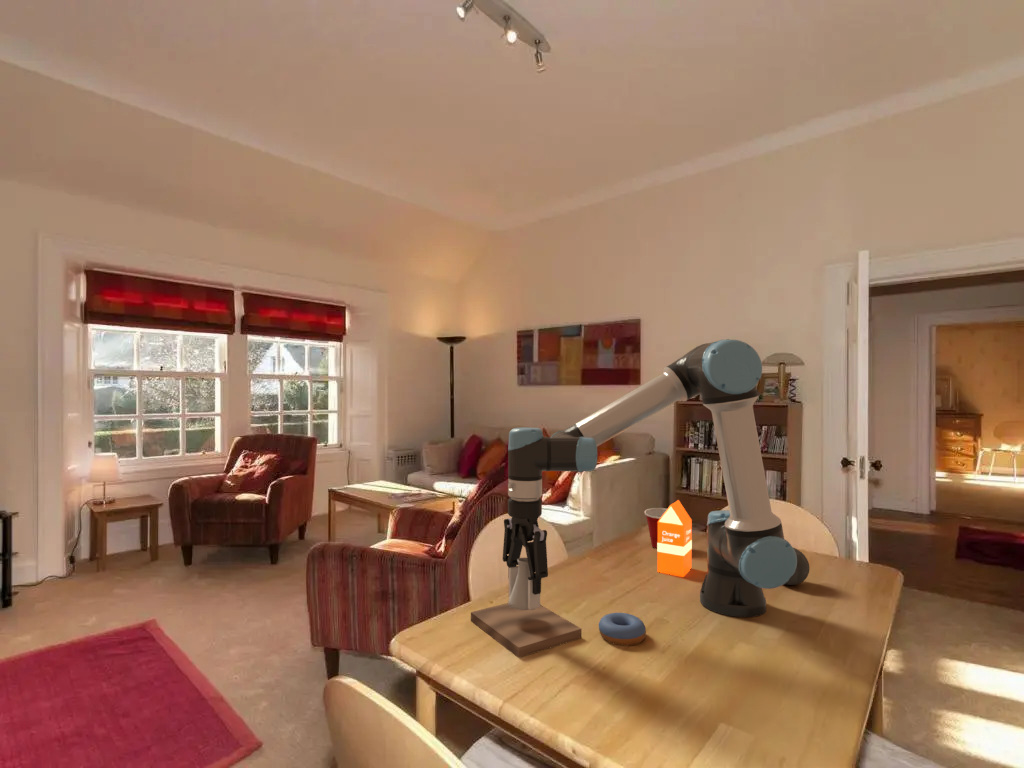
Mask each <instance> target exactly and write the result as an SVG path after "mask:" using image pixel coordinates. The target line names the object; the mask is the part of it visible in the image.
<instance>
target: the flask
mask: <svg viewBox="0 0 1024 768" xmlns="http://www.w3.org/2000/svg"><path fill="white" fill-rule="evenodd" d="M517 561H518V564H519V565H517V566H518V574H517V578H516V581H515V584H514V587H513V590H512V592H511V595H510V597H508V600H507V603H508V604H509V607H510V608H514V609H518V610H529V609H528V577H531V576H530V571H529V565H528V560H527V557H520V558H519V559H517ZM535 609H536V608H535ZM531 610H534V609H531Z"/></svg>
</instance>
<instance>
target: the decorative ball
mask: <svg viewBox="0 0 1024 768" xmlns="http://www.w3.org/2000/svg"><path fill="white" fill-rule="evenodd" d="M793 549H794V550H795V552H796V556H797V567H796V570H795V572H794V574H793V576H791V577H790V579H789V581H787V582H786V583H785V584H784V585H789V586H796V585H799V584H801V583H803V582H804V581H806V579H807V578H808V576H809V574H810V562H809V560H808V558H807V557H806V555H805V554H804V553H803V552H802V551H801V550H799V549H797V548H795V547H793Z"/></svg>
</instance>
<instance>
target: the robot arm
mask: <svg viewBox="0 0 1024 768" xmlns="http://www.w3.org/2000/svg"><path fill="white" fill-rule="evenodd" d="M762 373H763V363H762V360H761V357H760V355H759V353H758V352H757V350H755V348H754V347H753V346H751V345H750V344H748V343H747V342H744V341H742V340H738V339H729V338H727V339H720V340H717V341H712V342H709V343H708V342H707V343H704V344H700V345H698V346H696V347H694V348H693V349H691V350H689V351H688V352H686V353H685V354H684V355H682V356H681V357H679V358H677V360H675V361H673V362H672V363H670V364H669V365H666V366H665V367H664V368H663V371H662V374H660V375H658V376H656V377H654V378H652V379H651V380H649V381H647V382H646V383H644V384H642V385H640V386H638V387H637V388H635V389H633V390H632V391H630V392H628V393H626V394H624V395H623V396H621V397H619V398H618V399H616V400H613V401H612V402H611V403H609V404H607V405H605V406H603V407H601V408H600V409H598V410H596V411H595V412H594V413H591V414H589V415H588V416H586V417H584V418H582V419H581V420H579V421H577V422H576V423H575V424H573V425H571V426H569V427H567V428H565V429H563V430H559V431H557V432H555V433H554V434H552V435H551V436H550V437H549V436H544V434H543V430H542V429H541V428H539V427H514V428H511V430H510V431H509V432H508V445H507V446H508V448H507V449H508V450H507V454H508V456H507V457H508V458H507V460H508V461H507V463H508V464H507V465H508V466H507V467H508V469H507V473H508V475H507V476H508V477H507V478H508V483H507V495H508V497H509V498H508V500H507V515H508V516H509V517H511V518H505V519H504V520H503V526H504V535H503V545H502V546H503V547H502V561H503V562H504V563H506V566H507V567H508V577H507V579H508V598H510V595H511V592H512V590H513V587H514V584H515V581H516V578H517V574H518V566H519V564H518V561H517V559H519V558H521V554H522V551H523V548H525V554H526V558H527V560H528V565H529V571H530V576H531V577H528V609H529V610H531V609H535V608H538V607H540V605H541V593H542V579H544V578H548V576H549V571H548V554H547V553H548V552H547V539H548V531H547V530H546V529H543V530H542V529H540V527H539V524H538V523H539V522H538V518H539V517H541V516H542V514H543V509H542V508H543V503H542V502H543V501H542V499H541V497H542V496H543V472H578V473H582V472H583V473H584V472H593V471H594V470H596V468H597V464H598V447H599V446H602V444H604V443H606V442H608V441H609V440H612V438H616V436H618V435H620V434H621V433H623V432H625V431H627V430H629V429H631V428H632V427H634V426H636V425H637V424H640V423H641V422H643V421H645V420H647V419H648V418H650V417H652V416H654V415H655V414H658V412H661V411H662V410H664V409H666V408H667V407H670V406H671V405H673V404H674V403H676V402H678V401H681V402H687V401H688V400H690V399H692V398H694V397H696V396H699V395H701V400H702V406H703V407H705V408H707V409H708V410H710V412H711V415H712V416H711V417H712V423H713V427H714V432H715V438H716V439H715V440H716V444H717V449H718V454H719V460H720V466H721V472H722V476H723V483H724V486H725V487H724V488H725V492H726V493H725V495H726V499H727V504H728V509H729V510H725V509H724V510H723V509H722V510H712V511H710V512H709V513H708V515H707V523H706V529H707V530H706V531H707V532H706V533H707V534H706V535H707V537H706V538H707V542H706V543H707V544H706V545H707V547H706V548H707V551H706V552H707V566H706V567H707V568H706V569H707V570H706V574H705V576H704V579H703V582H702V585H701V588H700V590H699V602H700V604H701V605H702V606H703V607H704V608H706V609H708V610H710V611H713V612H715V613H718V614H721V615H723V616H724V615H725V616H729V617H730V616H731V617H736V618H754V617H759V616H762V615H764V614H765V613H766V612H767V600H766V597H765V595H764V591H763V589H765V590H766V589H767V590H769V589H776V588H779V587H782V586H783V585H786V584H785V583H786V582H787V581H789V579H790V577H791V576H793V574H794V572H795V570H796V567H797V556H796V552H795V550H794V549H793V548H794V547H793V546H792V544H791V543H790V542H789V541H788V540H786V539H785V536H784V534H785V533H784V530H783V525H782V519H781V517H779V516H777V515H776V514H774V513H773V512H772V507H771V502H770V496H769V494H770V493H769V491H768V490H769V489H768V484H767V479H766V473H765V467H764V463H763V458H762V450H761V446H760V440H759V434H758V429H757V424H756V420H755V419H756V418H755V413H754V404H755V402H756V401H757V400H758V398H759V392H758V385H757V384H758V383H759V381H760V380H761V378H762Z"/></svg>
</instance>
